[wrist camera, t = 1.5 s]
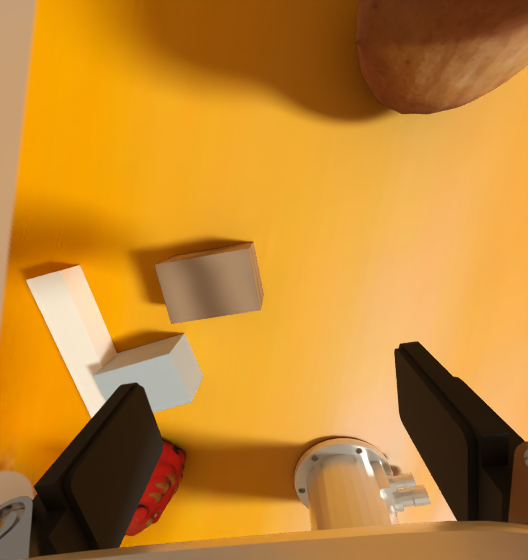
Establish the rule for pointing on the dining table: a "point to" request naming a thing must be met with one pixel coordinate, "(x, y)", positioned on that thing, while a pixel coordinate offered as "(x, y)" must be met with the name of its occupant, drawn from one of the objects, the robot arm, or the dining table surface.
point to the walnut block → (211, 283)
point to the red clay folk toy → (159, 489)
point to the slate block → (155, 372)
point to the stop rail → (75, 328)
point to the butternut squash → (439, 50)
